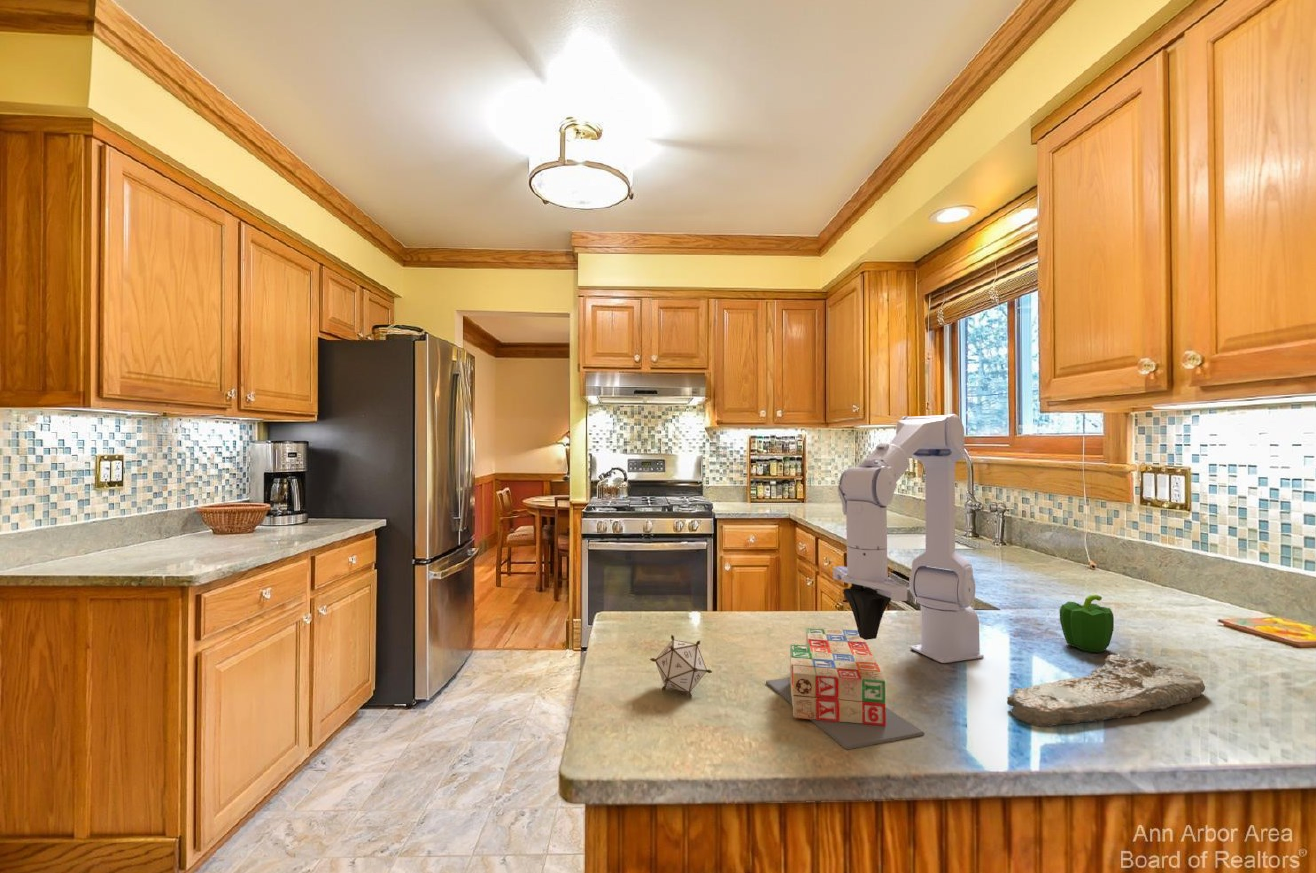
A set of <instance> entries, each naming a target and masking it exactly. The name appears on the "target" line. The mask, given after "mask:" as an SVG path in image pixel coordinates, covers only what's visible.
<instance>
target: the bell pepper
mask: <svg viewBox="0 0 1316 873" xmlns="http://www.w3.org/2000/svg"><path fill="white" fill-rule="evenodd" d="M1102 599H1103V598H1102V596H1100V595H1098V594H1092V595H1089V596H1087V597H1085V599H1084V602H1083V605H1082V604H1080V603H1077V602H1075V601H1067V602H1065V603H1063V604H1061V606H1060V608H1059V622H1060V626H1061V630H1062V633H1063V636H1064V639H1065V641H1066V644H1068V646H1071V647H1075V648H1077V649H1079V650H1082V651H1084V652H1089V653H1102V652H1104V651H1105V650H1107V648H1108V647H1109V646H1110V644H1111V641H1112V640H1111V639H1112V636H1113V633H1114V629H1115V628H1114V622H1115V621H1114V614H1113V611H1112V609H1111V608H1110V607H1105V606H1101V605H1098V604H1097V603H1092V602H1093V601H1098V602H1099V601H1101V600H1102Z"/></svg>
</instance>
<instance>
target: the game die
mask: <svg viewBox="0 0 1316 873" xmlns="http://www.w3.org/2000/svg"><path fill="white" fill-rule="evenodd" d="M670 638H671V641H670V642H669V643H668V645H666V647H665V648H664V649H663V650H662V651H661V653H660V654H659V655H658V656H657V657H656V658H654V657H651V658H649V660H650V662H654V663H655V664H656V666H657V670H658V672H659V674H660V677H661V681H662V682H663V686H662V687H661V692H662V691H666V688H669V689H672V690H675V691H680V692H683V693H687V696H688V698H689V699H692V693H691V692H692V690H693V689H694V688H695V687H696V686H697V684H698V683H699V682H700V681H701V680H702V678H703V677H704V676H705V675H706V673H707V674H711V673H713V671H712V670H711V669H707V667H706V664H705V662H704V659H703V656H702V654H701V650H700V649H699V645H700V644H701V640H697V641H696V643H692V642H686V641H681V640H679V639H675V635H673V634H671V636H670Z"/></svg>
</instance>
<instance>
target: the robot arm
mask: <svg viewBox="0 0 1316 873" xmlns="http://www.w3.org/2000/svg"><path fill="white" fill-rule="evenodd" d="M895 431H896V432H895V435H894V438H892V440H891V441H890V442H889V443H878V444H877V445H876V446H875V449H874V450H873V451H871V453H870V454H869V455H868V456H867V457H866V458H865V459H864V460H863V461H862V462H861V463H860V464H858V466H849V467H848V468H846V470H844V471H843V472H842V473H841V475H840V478H839V480H838V481H839V482H838V485H837V493H838V496H839V499H840V501H841V504H842V512H843V515H845V518H846V527H845V528H846V566H842V565H841V566H833V567H832V579H833V580H836V581H841V582H843V583H845V584H850V587H849V588H843V595H844V597H845V598H846V601H847V602H848V604H849V607H850V609H851V611H852V614H853V616H854V620H855V624H856V628H857V630H858V633H859V636H860V637H861V638H863V639H865V641H866V640H874V639H877V636H878V632H879V630H880V625H881V623H882V619H883V616H884V613H885V611H886V609H887V607H888V605H889V603H890V602H892V601H893V602H895V603H897V602H906V601H908V587H909V590H910V593H911V595H912V597H914V598H915V599H916V604H920V642H921V643H920V644H915V645H910V649H911V650H913V651H915V652H917V653H920V654H922V655H924V656H926V657H928V658H930V659H931V660H934V661H936V662H939V663H941V664H946V663H955V662H960V661H961V662H962V661H968V660H974V659H981V658H984V657H985V656H984V654H983V653H981V652H980V650H981V649H980V622H979V621H980V620H979V616H978V614H977V612H976V611H975V609H974V608H973V607H972V606H971V605H973V603H974V601H975V596H976V581H975V578H974V570H973V569H974V568H973V566H972V564H971V563H970V562H969V561H968V560H966V559H965V558H964V557H962V556H961V555H960V554H959V553H957V552H956V502H955V501H956V500H955V499H956V498H955V496H956V495H955V493H956V492H955V491H956V490H955V488H956V486H955V485H956V483H955V482H956V480H955V479H956V478H955V477H956V476H955V473H956V462H959V461H962V460H964V459H965V458H964V454H965V427H964V425H963V421H962V420H961V418H960V417H959V416H958V415H957V414H956V413H952V414H943V415H942V414H941V415H920V416H919V415H918V416H908V415H907V416H906V415H905V416H902V417H901V418H900V419H899V420H898V421H897V422H896V430H895ZM909 458H912V459H913V460H916V461H919V462H920V463H921V464H922V465H923V466H924V468H925V469H924V471H925V473H924V475H925V477H924V478H925V479H924V482H925V487H924V488H925V492H924V493H925V495H924V496H925V551H923V552H922V553H921V554H919V555H917V556H916V557H914V558H913V559H912V562H911V572H910V574H909V580H908V581H909V582H908V584H909V586H906V585H903V584H901V583H900V582H897V581H895V580H894V579H893V578H891V577H890V576H888V574H889V573H888V572H889V571H888V524H887V523H888V516H887V514H888V512H887V507H888V506H889V504H891V503H892V501H893V499H894V495H895V490H896V488H897V485H898V484H897V482H898V481H899V480H900V478H902V476H903V475H904V474H905V472H907V470H908V469H909V465H910V461H909Z"/></svg>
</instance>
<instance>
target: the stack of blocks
mask: <svg viewBox="0 0 1316 873" xmlns="http://www.w3.org/2000/svg"><path fill="white" fill-rule="evenodd" d="M789 658H790V660H789V663H790V665H789V671H790V672H789V674H790V683H791V697H792V704H791V706H792V715H793V718H795V719H805V720H810V719H816V720H821V721H832V722H850V723H862V724H867V725H878V726H886V708H887V707H886V680H885V678H884V676H883V674H882V671H881V669H880V667H879V665H878V664H877V661H876V659H875V657H874V656H873V654H872V652H871V650H870V648H869V646H868V643H867V641H866V640H865V639H863V638H861V637H860V636H859V633H858V629H857V630H853V629H841V628H840V629H838V628H824V629H823V628H812V627H811V628H807V627H806V628H805V644H789Z"/></svg>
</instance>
